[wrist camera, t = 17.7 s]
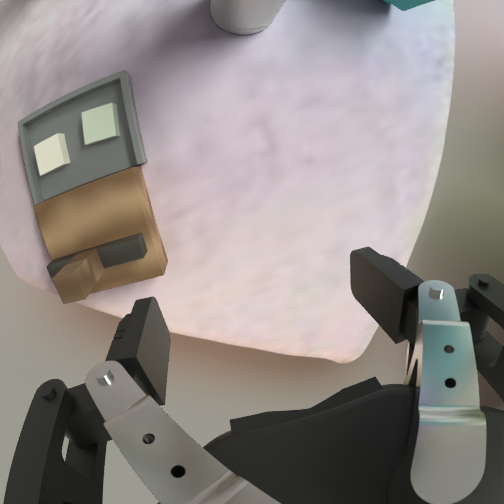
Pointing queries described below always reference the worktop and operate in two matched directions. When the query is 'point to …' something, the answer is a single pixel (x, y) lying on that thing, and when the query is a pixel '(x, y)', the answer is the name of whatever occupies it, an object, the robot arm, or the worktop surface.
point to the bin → (82, 137)
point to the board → (105, 224)
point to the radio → (406, 3)
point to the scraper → (92, 266)
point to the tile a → (52, 154)
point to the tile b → (100, 124)
